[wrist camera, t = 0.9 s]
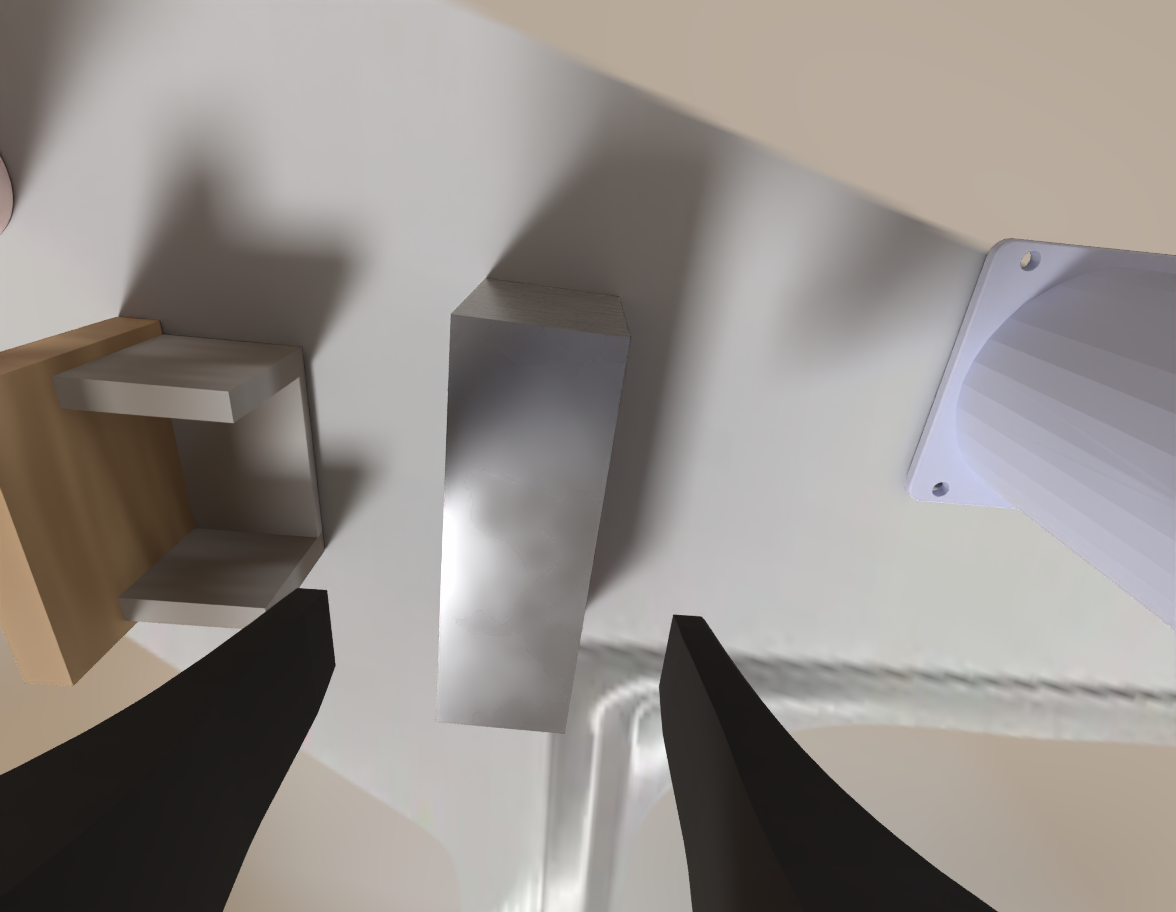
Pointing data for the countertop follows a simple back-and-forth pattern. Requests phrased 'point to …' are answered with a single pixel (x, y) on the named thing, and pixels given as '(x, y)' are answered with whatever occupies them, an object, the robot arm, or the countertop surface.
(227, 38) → the countertop surface
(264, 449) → the bracket
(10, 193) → the smoothie
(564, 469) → the grey rectangular block
